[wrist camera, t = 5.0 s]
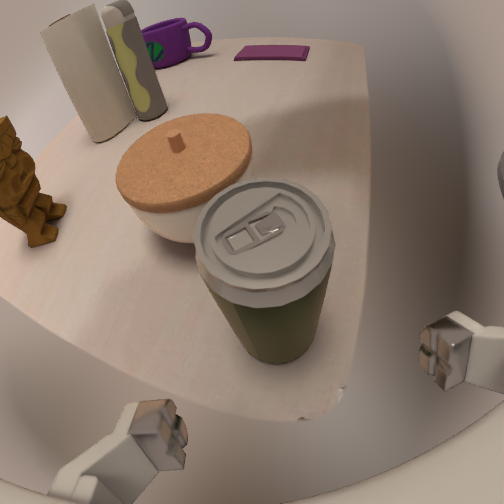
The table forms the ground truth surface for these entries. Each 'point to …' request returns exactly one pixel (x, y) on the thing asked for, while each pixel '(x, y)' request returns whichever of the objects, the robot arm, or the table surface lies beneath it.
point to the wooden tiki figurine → (24, 191)
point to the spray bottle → (133, 60)
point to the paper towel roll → (89, 73)
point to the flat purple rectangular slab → (273, 52)
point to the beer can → (267, 263)
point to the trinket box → (183, 171)
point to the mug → (172, 41)
